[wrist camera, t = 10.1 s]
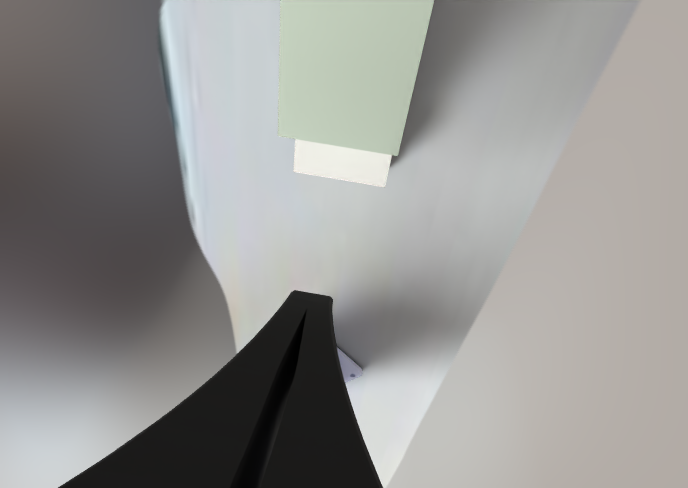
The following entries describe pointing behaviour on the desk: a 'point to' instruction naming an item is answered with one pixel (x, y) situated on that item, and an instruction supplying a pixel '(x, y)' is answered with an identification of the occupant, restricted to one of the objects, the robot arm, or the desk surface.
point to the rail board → (341, 163)
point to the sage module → (349, 70)
